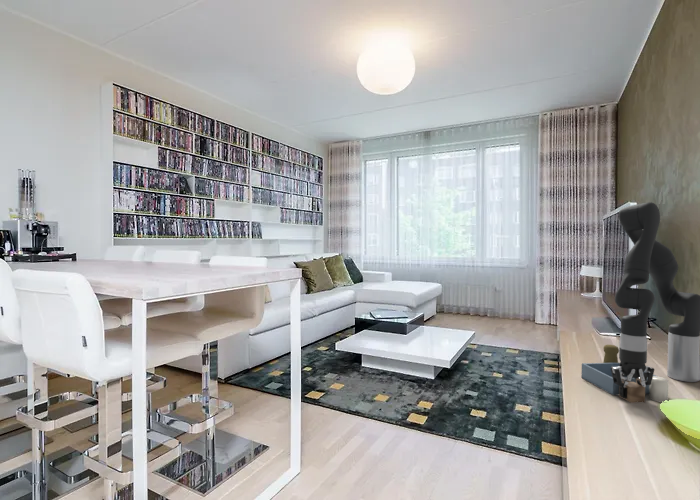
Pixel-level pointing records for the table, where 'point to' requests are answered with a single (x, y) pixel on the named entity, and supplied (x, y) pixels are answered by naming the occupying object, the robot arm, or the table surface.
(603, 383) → the tote
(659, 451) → the table surface
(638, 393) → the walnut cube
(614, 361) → the cork
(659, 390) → the ceramic canister
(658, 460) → the table surface
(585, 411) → the table surface
